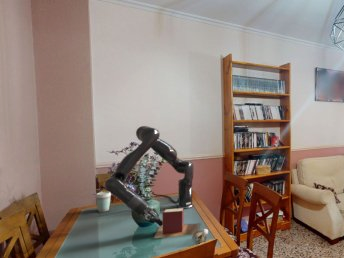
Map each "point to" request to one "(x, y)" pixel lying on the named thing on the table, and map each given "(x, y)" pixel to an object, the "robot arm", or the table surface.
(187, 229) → the mat
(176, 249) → the table surface
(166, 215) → the book
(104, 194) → the coffee cup
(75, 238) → the table surface
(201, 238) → the eagle figurine
